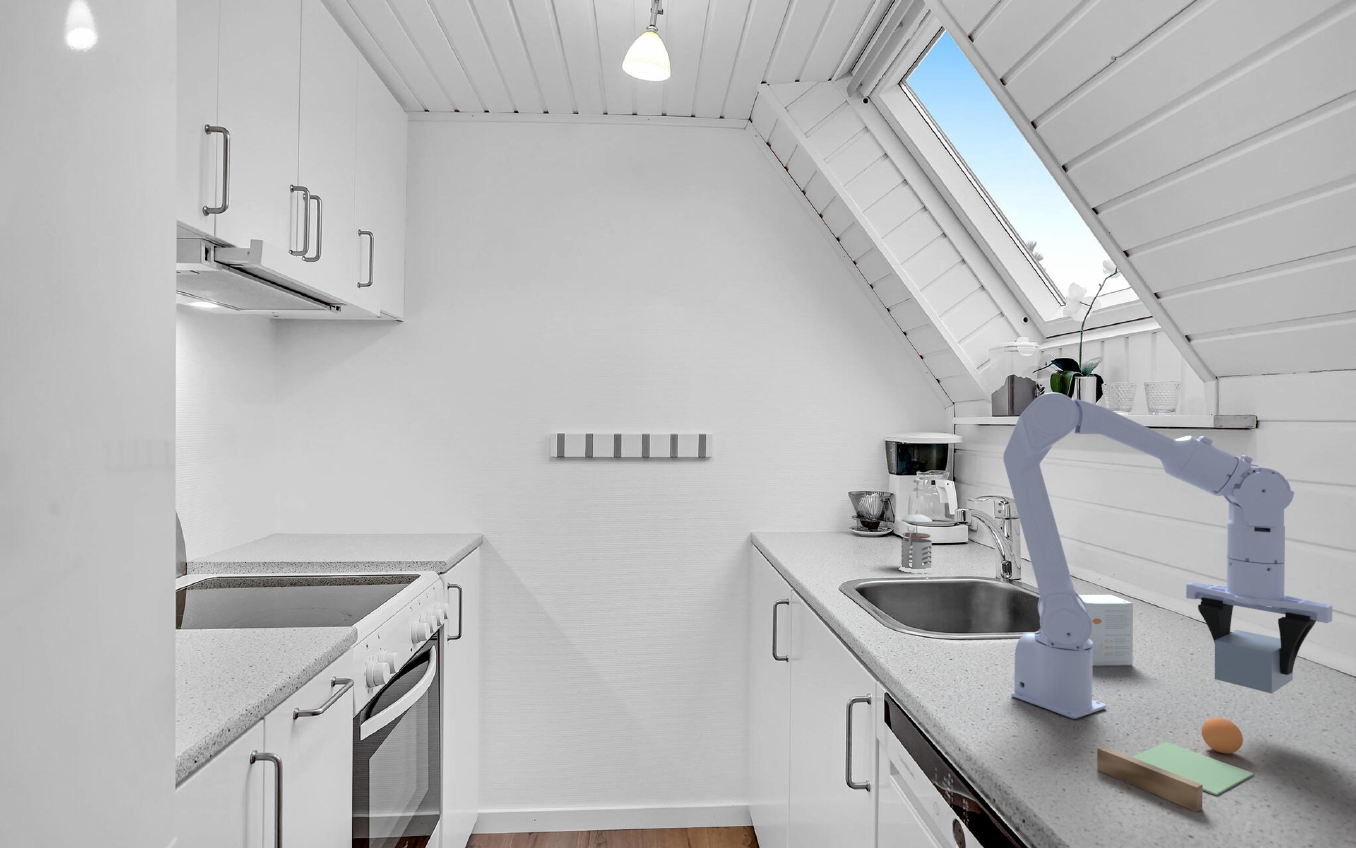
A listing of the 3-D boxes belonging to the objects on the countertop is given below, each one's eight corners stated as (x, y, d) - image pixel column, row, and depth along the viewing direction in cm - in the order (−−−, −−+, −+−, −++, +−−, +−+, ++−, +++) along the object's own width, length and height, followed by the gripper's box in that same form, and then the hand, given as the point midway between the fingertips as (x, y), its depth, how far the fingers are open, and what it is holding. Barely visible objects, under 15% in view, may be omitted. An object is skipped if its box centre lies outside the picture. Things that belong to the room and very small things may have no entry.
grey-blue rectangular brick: (1214, 679, 90) (1214, 640, 90) (1237, 666, 95) (1237, 629, 95) (1271, 693, 86) (1271, 652, 85) (1292, 680, 90) (1292, 641, 90)
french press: (940, 570, 191) (942, 478, 191) (924, 577, 182) (925, 480, 182) (905, 565, 197) (906, 476, 197) (888, 571, 189) (889, 478, 189)
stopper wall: (1097, 769, 81) (1097, 748, 81) (1102, 767, 81) (1103, 745, 81) (1196, 812, 72) (1196, 787, 72) (1202, 808, 73) (1202, 784, 73)
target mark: (1127, 760, 83) (1127, 758, 83) (1166, 743, 88) (1166, 742, 88) (1216, 795, 75) (1216, 793, 75) (1253, 775, 80) (1253, 773, 80)
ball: (1194, 749, 86) (1195, 716, 86) (1210, 741, 88) (1210, 710, 88) (1233, 762, 83) (1234, 728, 83) (1248, 755, 85) (1249, 721, 85)
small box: (1111, 655, 121) (1112, 594, 121) (1133, 666, 116) (1134, 602, 116) (1066, 655, 121) (1066, 594, 121) (1086, 666, 116) (1086, 602, 116)
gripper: (1177, 553, 94) (1176, 655, 94) (1320, 573, 82) (1319, 689, 82) (1198, 548, 98) (1197, 646, 98) (1337, 566, 86) (1336, 677, 86)
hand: (1254, 665), depth 90 cm, fingers closed on grey-blue rectangular brick, 6 cm apart
